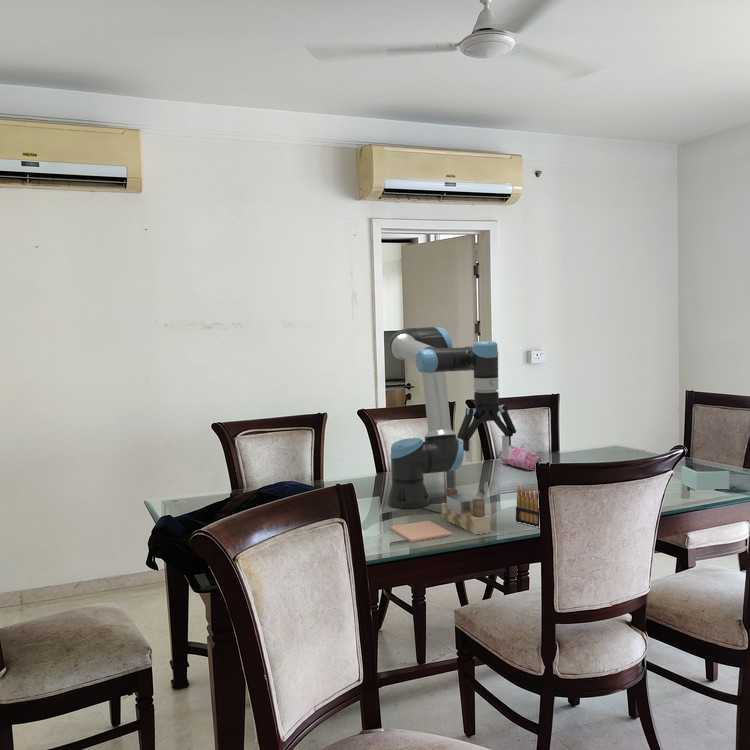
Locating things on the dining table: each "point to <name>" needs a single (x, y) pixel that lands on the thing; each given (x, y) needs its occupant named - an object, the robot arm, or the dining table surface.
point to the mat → (420, 531)
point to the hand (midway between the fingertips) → (487, 458)
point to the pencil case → (521, 458)
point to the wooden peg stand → (468, 515)
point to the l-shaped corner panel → (705, 479)
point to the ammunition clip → (527, 507)
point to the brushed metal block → (461, 503)
